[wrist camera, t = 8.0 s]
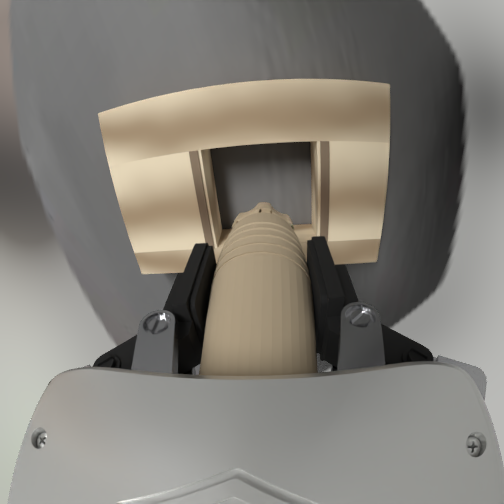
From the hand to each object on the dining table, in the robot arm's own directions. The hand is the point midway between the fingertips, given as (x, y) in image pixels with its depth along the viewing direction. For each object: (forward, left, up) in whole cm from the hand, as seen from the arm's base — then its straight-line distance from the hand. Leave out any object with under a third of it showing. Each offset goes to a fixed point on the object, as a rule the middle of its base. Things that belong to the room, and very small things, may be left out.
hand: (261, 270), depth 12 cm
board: (-1, -1, -11) cm, 11 cm away
